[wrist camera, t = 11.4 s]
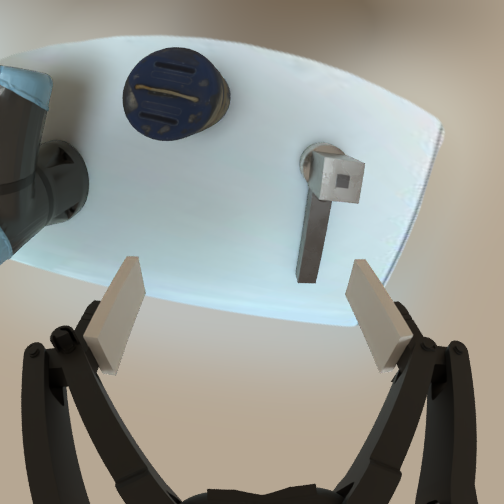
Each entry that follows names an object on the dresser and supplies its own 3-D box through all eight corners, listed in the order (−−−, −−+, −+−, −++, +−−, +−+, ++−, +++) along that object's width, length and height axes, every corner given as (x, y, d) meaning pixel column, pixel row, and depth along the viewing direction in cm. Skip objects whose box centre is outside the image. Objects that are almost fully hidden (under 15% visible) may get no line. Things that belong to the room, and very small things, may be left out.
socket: (307, 185, 39) (319, 200, 32) (311, 150, 36) (325, 157, 30) (341, 189, 39) (358, 204, 33) (346, 155, 37) (365, 163, 30)
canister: (208, 140, 39) (180, 164, 23) (155, 111, 36) (97, 118, 20) (244, 87, 35) (240, 72, 19) (189, 58, 32) (149, 27, 16)
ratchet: (285, 273, 50) (290, 298, 44) (302, 139, 39) (312, 146, 32) (322, 274, 50) (331, 299, 44) (345, 145, 39) (363, 154, 33)
